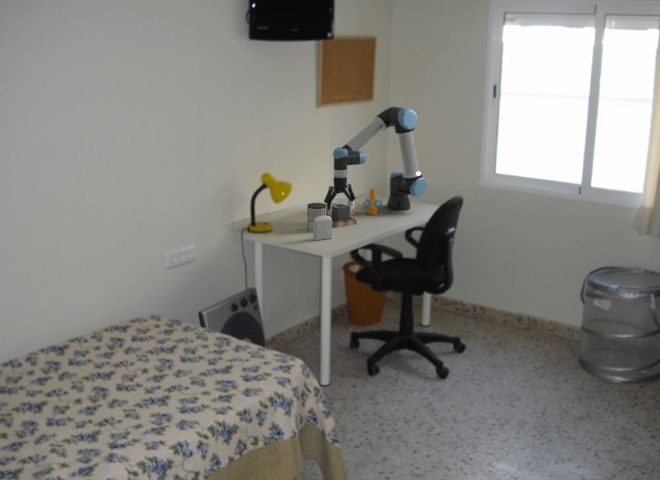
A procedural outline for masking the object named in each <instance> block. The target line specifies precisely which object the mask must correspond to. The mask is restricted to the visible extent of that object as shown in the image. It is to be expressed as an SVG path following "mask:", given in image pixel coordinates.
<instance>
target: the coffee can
mask: <svg viewBox="0 0 660 480" xmlns="http://www.w3.org/2000/svg"><path fill="white" fill-rule="evenodd" d="M306 206H307V231H308V232H312V233H313V220H314V218H316V217H319V216H327V214H326V203H324V202H311V203H308V204H307V205H306Z"/></svg>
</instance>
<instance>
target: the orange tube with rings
mask: <svg viewBox="0 0 660 480" xmlns="http://www.w3.org/2000/svg"><path fill="white" fill-rule="evenodd" d="M368 195H369V198H366V199H365V200H364V202H363V204H362V205H363V207H364V208H367V211H366V213H367V215H370V216H374V215H375V216H376V215H378V209H379V208H380V207H381V205H382V204H383V201H382V200H381V199H377V189H376V188H370V189H369V194H368Z"/></svg>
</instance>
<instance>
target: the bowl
mask: <svg viewBox="0 0 660 480" xmlns="http://www.w3.org/2000/svg"><path fill="white" fill-rule="evenodd" d="M348 200H349V199H348V198H347V197H343V196H341V197H339V196H338V197H337V196H335V198H334V199H333V201H332V202H331V204H332V205H338V204H343V205H346V206H348ZM355 200H356V199H354V201H352V206H351V212H350V217H351V216H354V215H355V208H356V207H355V206H356V205H355V204H356V203H355V202H356V201H355ZM325 204H326V216H330V215H328V209H327V203H325Z"/></svg>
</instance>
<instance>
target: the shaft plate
mask: <svg viewBox="0 0 660 480" xmlns="http://www.w3.org/2000/svg"><path fill="white" fill-rule="evenodd" d="M337 207H342V206H337ZM357 223H358V222H357V219H356V218H353V217H351V216H350V219H349V220H343V221H335V220H332V227H334V228H343V227H349V226H353V225H354V226H355V225H357Z"/></svg>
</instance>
